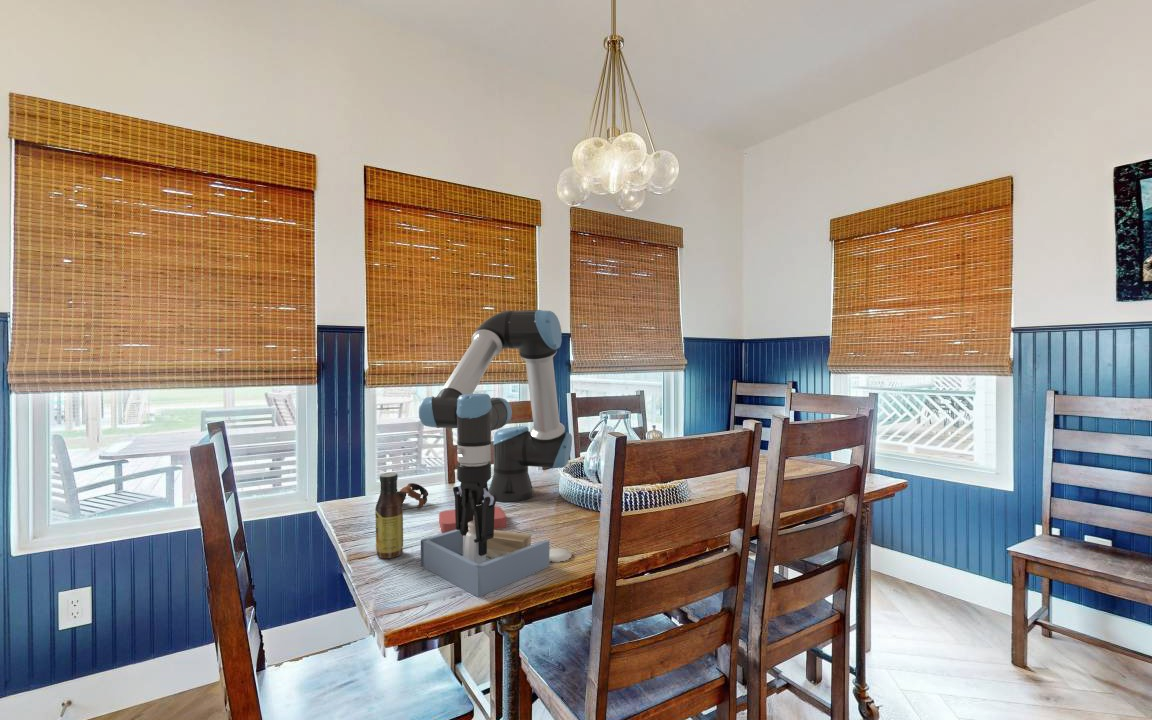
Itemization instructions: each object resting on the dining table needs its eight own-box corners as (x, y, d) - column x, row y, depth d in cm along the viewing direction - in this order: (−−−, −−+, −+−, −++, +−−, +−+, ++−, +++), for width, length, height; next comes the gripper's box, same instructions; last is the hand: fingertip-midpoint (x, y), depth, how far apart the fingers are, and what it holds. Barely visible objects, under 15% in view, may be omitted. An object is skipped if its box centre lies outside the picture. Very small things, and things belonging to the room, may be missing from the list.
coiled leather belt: (406, 502, 170) (419, 480, 170) (423, 519, 165) (436, 497, 165) (378, 502, 160) (392, 479, 159) (395, 520, 155) (409, 497, 155)
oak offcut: (493, 541, 128) (493, 529, 128) (530, 546, 125) (530, 534, 125) (484, 548, 123) (484, 536, 123) (522, 553, 120) (522, 541, 120)
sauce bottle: (382, 549, 129) (382, 470, 128) (407, 550, 128) (406, 470, 128) (371, 560, 122) (370, 476, 122) (397, 560, 122) (396, 477, 121)
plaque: (443, 525, 136) (438, 509, 150) (442, 540, 136) (438, 522, 150) (509, 518, 142) (499, 503, 156) (509, 532, 142) (499, 516, 156)
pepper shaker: (457, 573, 115) (457, 524, 115) (470, 563, 120) (470, 517, 120) (478, 577, 113) (478, 527, 113) (490, 567, 118) (490, 519, 118)
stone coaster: (557, 548, 130) (557, 546, 130) (577, 556, 125) (577, 553, 125) (536, 556, 125) (536, 554, 125) (557, 564, 120) (557, 562, 120)
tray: (490, 542, 134) (490, 519, 134) (549, 566, 119) (549, 541, 119) (420, 565, 119) (420, 539, 119) (478, 597, 104) (478, 567, 104)
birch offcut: (495, 549, 130) (496, 537, 130) (534, 562, 122) (534, 550, 122) (481, 555, 126) (481, 543, 126) (520, 569, 118) (520, 556, 118)
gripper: (439, 459, 119) (439, 560, 120) (483, 471, 108) (483, 582, 108) (466, 454, 125) (466, 550, 125) (511, 465, 113) (510, 571, 114)
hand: (474, 565), depth 117 cm, fingers closed on pepper shaker, 4 cm apart
